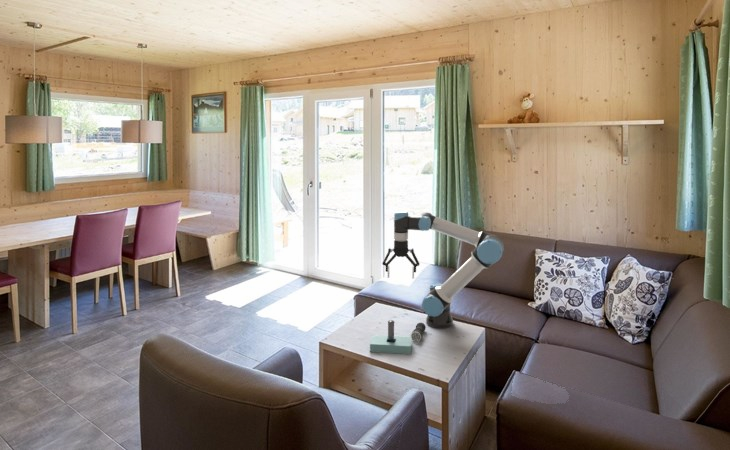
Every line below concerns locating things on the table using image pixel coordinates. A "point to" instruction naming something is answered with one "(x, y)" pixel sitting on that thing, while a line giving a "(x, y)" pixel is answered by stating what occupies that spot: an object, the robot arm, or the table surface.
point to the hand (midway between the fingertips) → (400, 277)
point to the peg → (391, 331)
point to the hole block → (391, 344)
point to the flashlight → (418, 332)
